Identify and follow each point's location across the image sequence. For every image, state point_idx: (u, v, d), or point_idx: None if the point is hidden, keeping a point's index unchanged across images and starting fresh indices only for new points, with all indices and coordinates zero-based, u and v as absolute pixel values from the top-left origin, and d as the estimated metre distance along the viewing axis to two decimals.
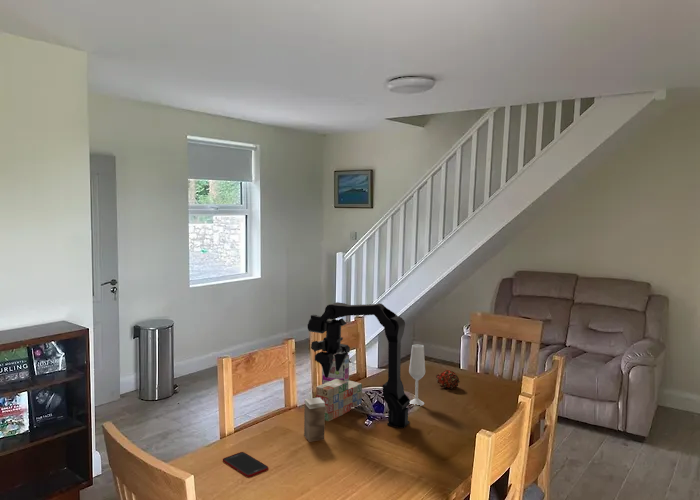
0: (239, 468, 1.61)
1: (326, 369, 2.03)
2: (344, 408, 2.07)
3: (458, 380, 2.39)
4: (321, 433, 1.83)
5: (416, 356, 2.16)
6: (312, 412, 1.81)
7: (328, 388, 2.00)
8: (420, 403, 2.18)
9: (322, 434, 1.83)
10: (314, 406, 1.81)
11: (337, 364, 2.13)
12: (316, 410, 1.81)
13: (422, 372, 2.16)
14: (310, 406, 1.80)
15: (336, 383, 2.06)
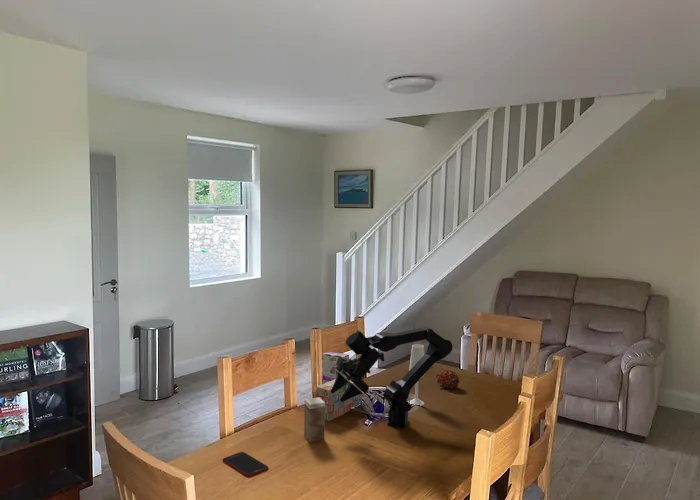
0: (239, 468, 1.61)
1: (349, 395, 1.83)
2: (344, 408, 2.07)
3: (458, 380, 2.39)
4: (321, 433, 1.83)
5: (416, 356, 2.16)
6: (312, 412, 1.81)
7: (328, 388, 2.00)
8: (420, 403, 2.18)
9: (322, 434, 1.83)
10: (314, 406, 1.81)
11: (336, 386, 1.92)
12: (316, 410, 1.81)
13: None
14: (310, 406, 1.80)
15: None
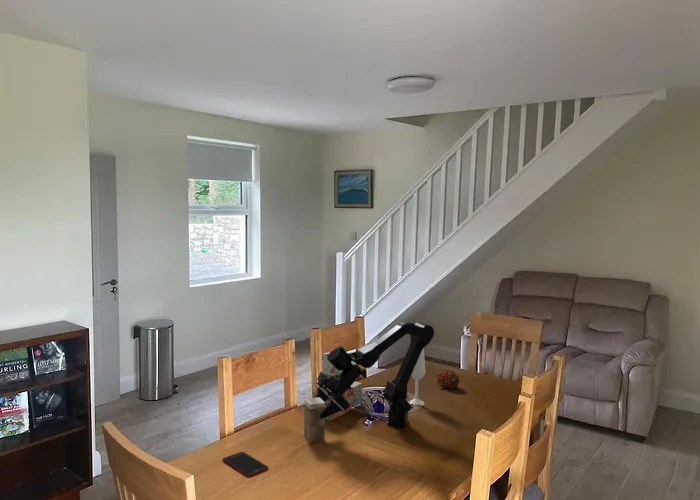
0: (239, 468, 1.61)
1: (329, 411, 1.80)
2: None
3: (458, 380, 2.39)
4: (321, 433, 1.83)
5: None
6: (312, 412, 1.81)
7: None
8: (420, 403, 2.18)
9: (322, 434, 1.83)
10: (314, 406, 1.81)
11: None
12: (316, 410, 1.81)
13: (422, 372, 2.16)
14: (310, 406, 1.80)
15: None
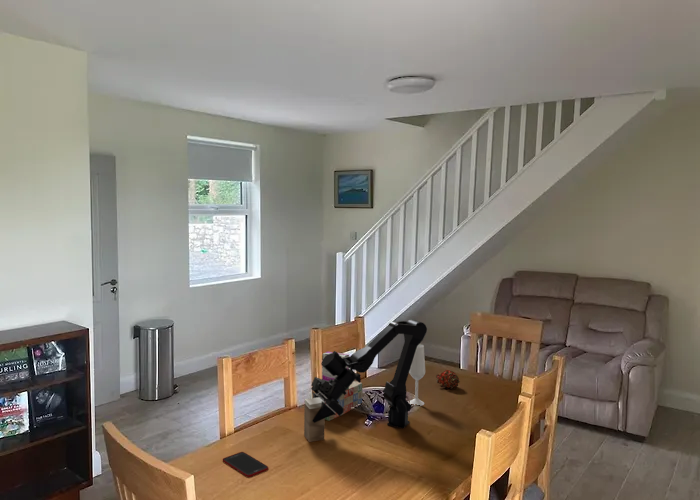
0: (239, 468, 1.61)
1: (322, 415, 1.81)
2: (345, 408, 2.07)
3: (458, 380, 2.39)
4: (321, 433, 1.83)
5: (416, 356, 2.16)
6: (312, 412, 1.81)
7: None
8: (420, 403, 2.18)
9: (322, 434, 1.83)
10: (314, 406, 1.81)
11: None
12: (316, 410, 1.81)
13: (422, 372, 2.16)
14: (310, 406, 1.80)
15: None
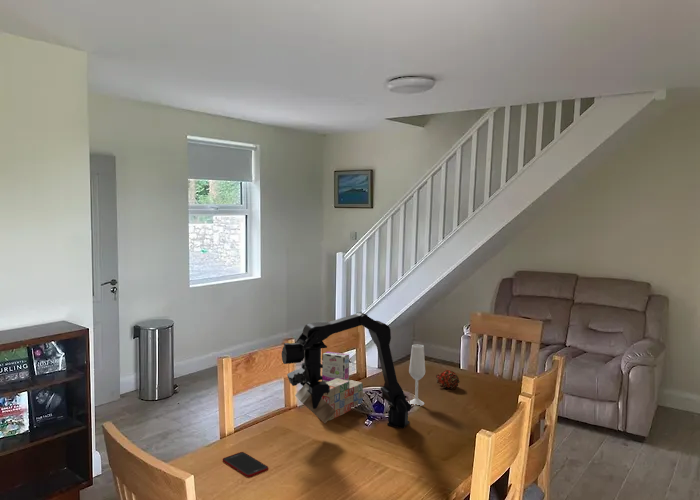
0: (239, 468, 1.61)
1: (317, 399, 1.80)
2: (345, 407, 2.08)
3: (458, 380, 2.39)
4: (328, 409, 1.83)
5: (416, 356, 2.16)
6: (307, 403, 1.80)
7: None
8: (420, 403, 2.18)
9: (330, 409, 1.83)
10: (305, 398, 1.79)
11: None
12: (309, 399, 1.80)
13: (422, 372, 2.16)
14: (301, 401, 1.79)
15: (337, 382, 2.06)
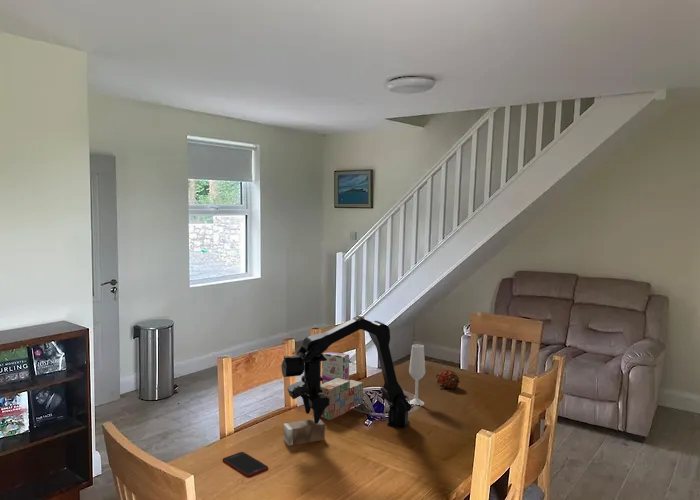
0: (239, 468, 1.61)
1: (319, 413, 1.78)
2: (345, 407, 2.08)
3: (458, 380, 2.39)
4: (318, 428, 1.82)
5: (416, 356, 2.16)
6: (296, 441, 1.79)
7: (329, 387, 2.01)
8: (420, 403, 2.18)
9: (319, 426, 1.82)
10: (290, 440, 1.78)
11: (307, 405, 1.88)
12: (295, 437, 1.79)
13: (422, 372, 2.16)
14: (290, 444, 1.78)
15: (337, 382, 2.07)
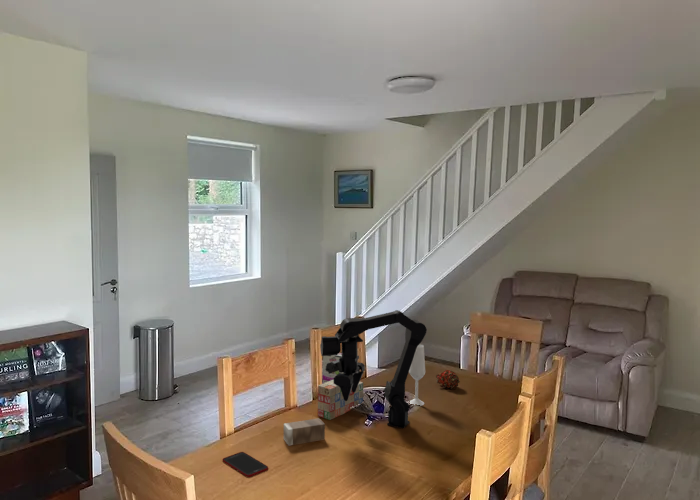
0: (239, 468, 1.61)
1: (346, 392, 1.87)
2: (346, 407, 2.08)
3: (458, 380, 2.39)
4: (318, 428, 1.82)
5: (416, 356, 2.16)
6: (296, 441, 1.79)
7: (330, 387, 2.02)
8: (420, 403, 2.18)
9: (319, 426, 1.82)
10: (290, 440, 1.78)
11: (353, 384, 1.97)
12: (295, 437, 1.79)
13: (422, 372, 2.16)
14: (290, 444, 1.78)
15: None
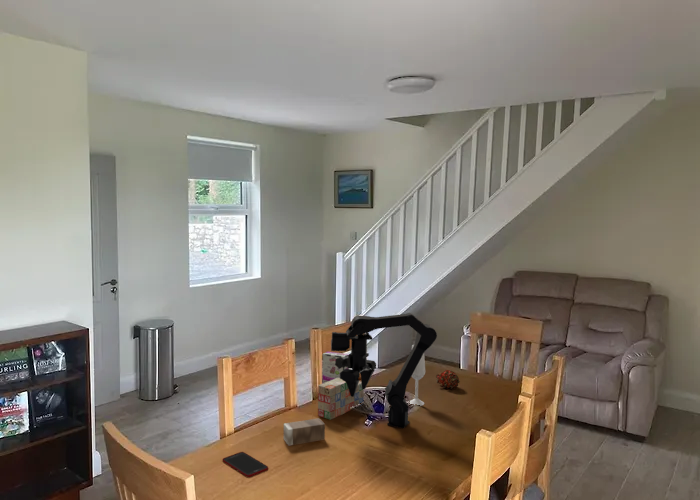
0: (239, 468, 1.61)
1: (352, 388, 1.90)
2: (346, 407, 2.08)
3: (458, 380, 2.39)
4: (318, 428, 1.82)
5: None
6: (296, 441, 1.79)
7: (330, 387, 2.02)
8: (420, 403, 2.18)
9: (319, 426, 1.82)
10: (290, 440, 1.78)
11: (363, 381, 2.00)
12: (295, 437, 1.79)
13: (422, 372, 2.16)
14: (290, 444, 1.78)
15: (338, 382, 2.07)
